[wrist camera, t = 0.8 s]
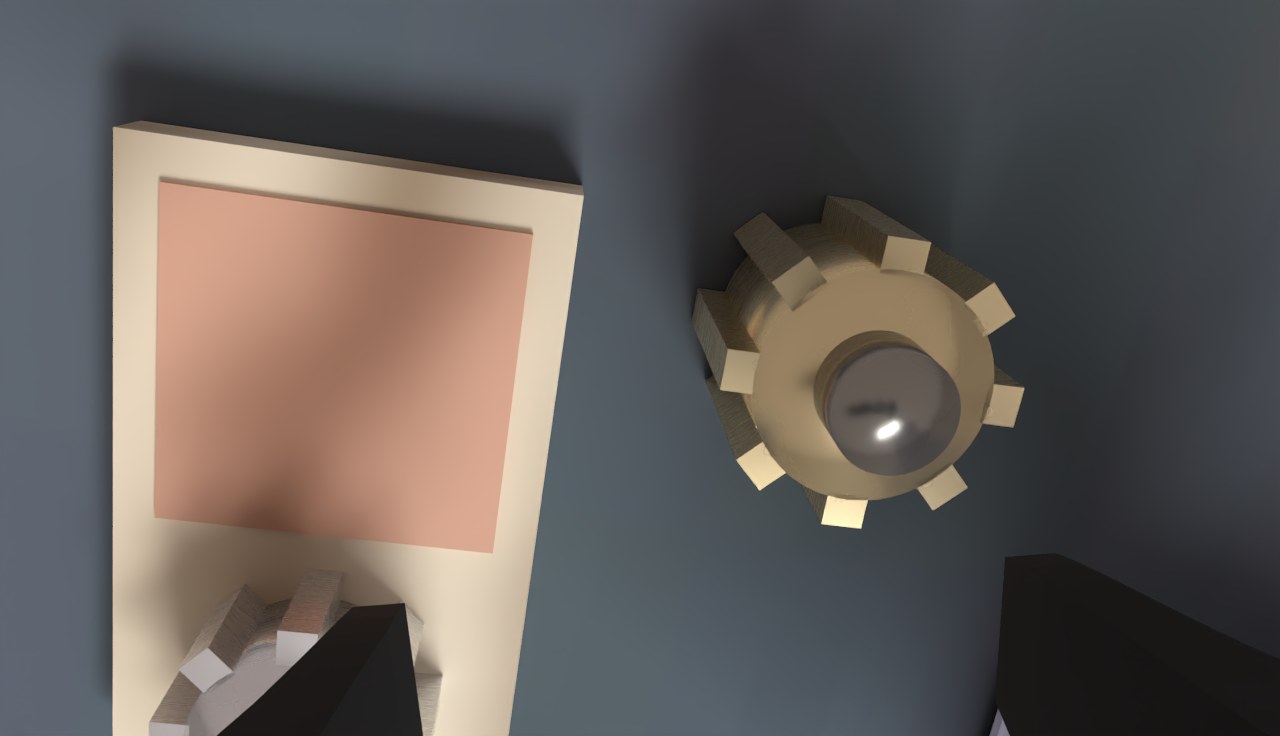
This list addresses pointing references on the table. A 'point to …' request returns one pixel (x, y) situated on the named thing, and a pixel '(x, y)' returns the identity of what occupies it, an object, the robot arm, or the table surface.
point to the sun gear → (264, 656)
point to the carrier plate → (330, 397)
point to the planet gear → (853, 359)
